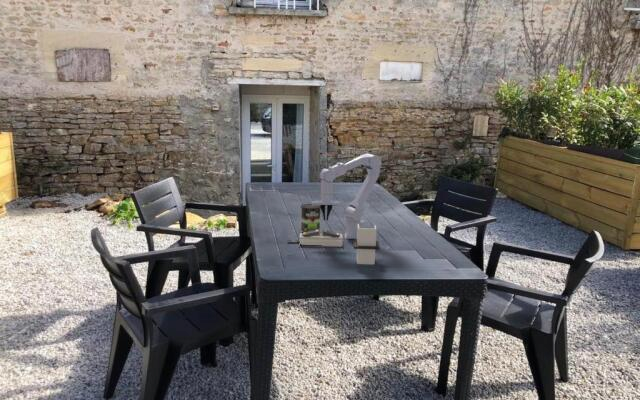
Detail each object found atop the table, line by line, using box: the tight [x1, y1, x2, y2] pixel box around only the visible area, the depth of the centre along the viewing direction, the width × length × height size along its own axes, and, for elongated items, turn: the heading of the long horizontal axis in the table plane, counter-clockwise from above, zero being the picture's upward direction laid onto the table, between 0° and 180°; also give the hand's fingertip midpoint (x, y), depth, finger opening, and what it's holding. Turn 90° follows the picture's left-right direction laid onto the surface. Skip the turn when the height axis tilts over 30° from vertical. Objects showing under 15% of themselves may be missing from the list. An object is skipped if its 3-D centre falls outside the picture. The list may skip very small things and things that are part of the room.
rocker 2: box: [322, 228, 340, 237], centre depth 230 cm, size 8×4×2 cm, turn 90°
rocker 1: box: [303, 229, 321, 237], centre depth 230 cm, size 8×4×2 cm, turn 90°
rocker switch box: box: [287, 232, 343, 248], centre depth 231 cm, size 27×9×4 cm, turn 90°
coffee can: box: [300, 203, 321, 232], centre depth 249 cm, size 10×10×14 cm
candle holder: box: [352, 224, 381, 265], centre depth 205 cm, size 25×24×16 cm
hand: (325, 219), depth 235 cm, fingers closed
